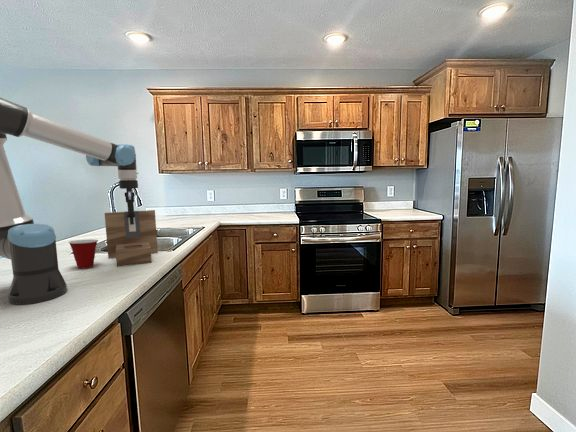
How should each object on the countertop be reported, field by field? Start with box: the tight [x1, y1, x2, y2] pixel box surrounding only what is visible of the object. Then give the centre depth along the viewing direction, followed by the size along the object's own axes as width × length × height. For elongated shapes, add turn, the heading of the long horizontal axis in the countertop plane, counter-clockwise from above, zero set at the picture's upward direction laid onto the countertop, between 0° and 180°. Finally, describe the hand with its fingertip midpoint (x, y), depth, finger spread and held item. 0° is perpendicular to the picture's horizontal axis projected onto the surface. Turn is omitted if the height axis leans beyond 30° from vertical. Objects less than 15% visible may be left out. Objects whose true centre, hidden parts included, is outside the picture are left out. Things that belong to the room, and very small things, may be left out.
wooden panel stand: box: [104, 209, 158, 268], centre depth 145 cm, size 20×22×22 cm
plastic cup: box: [68, 238, 99, 270], centre depth 134 cm, size 11×11×12 cm
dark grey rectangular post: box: [123, 210, 141, 238], centre depth 142 cm, size 3×6×12 cm, turn 118°
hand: (132, 230), depth 142 cm, fingers closed on dark grey rectangular post, 3 cm apart
